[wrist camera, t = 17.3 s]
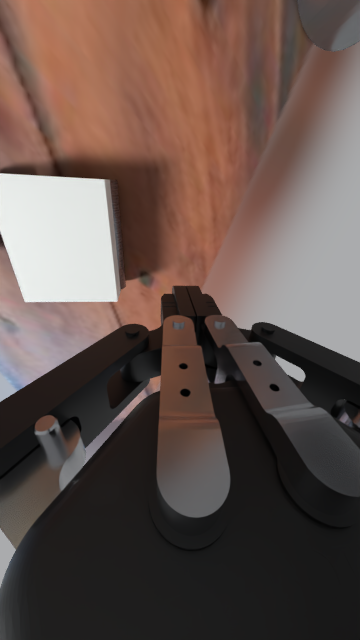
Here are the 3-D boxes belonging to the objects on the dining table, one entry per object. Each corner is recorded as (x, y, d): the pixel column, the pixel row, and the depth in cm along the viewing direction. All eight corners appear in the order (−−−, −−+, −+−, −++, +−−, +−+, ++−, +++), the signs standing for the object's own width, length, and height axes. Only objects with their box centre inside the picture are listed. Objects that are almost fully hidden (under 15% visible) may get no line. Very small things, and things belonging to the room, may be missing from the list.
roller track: (118, 180, 25) (114, 180, 22) (126, 281, 31) (124, 290, 29) (-10, 172, 23) (-29, 171, 21) (26, 281, 30) (14, 290, 27)
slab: (109, 179, 22) (104, 179, 20) (120, 290, 28) (117, 301, 26) (0, 173, 21) (-21, 172, 18) (36, 290, 27) (24, 301, 25)
